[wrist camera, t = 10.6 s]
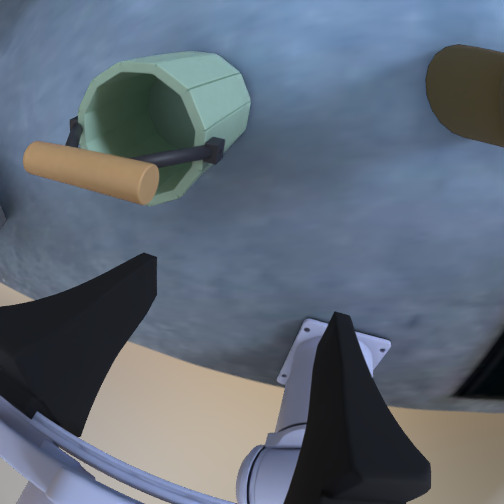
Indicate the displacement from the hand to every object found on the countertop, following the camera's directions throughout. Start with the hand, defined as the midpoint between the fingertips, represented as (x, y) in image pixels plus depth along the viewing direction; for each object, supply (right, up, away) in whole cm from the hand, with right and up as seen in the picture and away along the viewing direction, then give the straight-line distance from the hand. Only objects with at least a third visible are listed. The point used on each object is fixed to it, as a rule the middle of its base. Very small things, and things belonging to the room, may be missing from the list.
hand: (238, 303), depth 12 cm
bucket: (-3, +11, +6) cm, 13 cm away
